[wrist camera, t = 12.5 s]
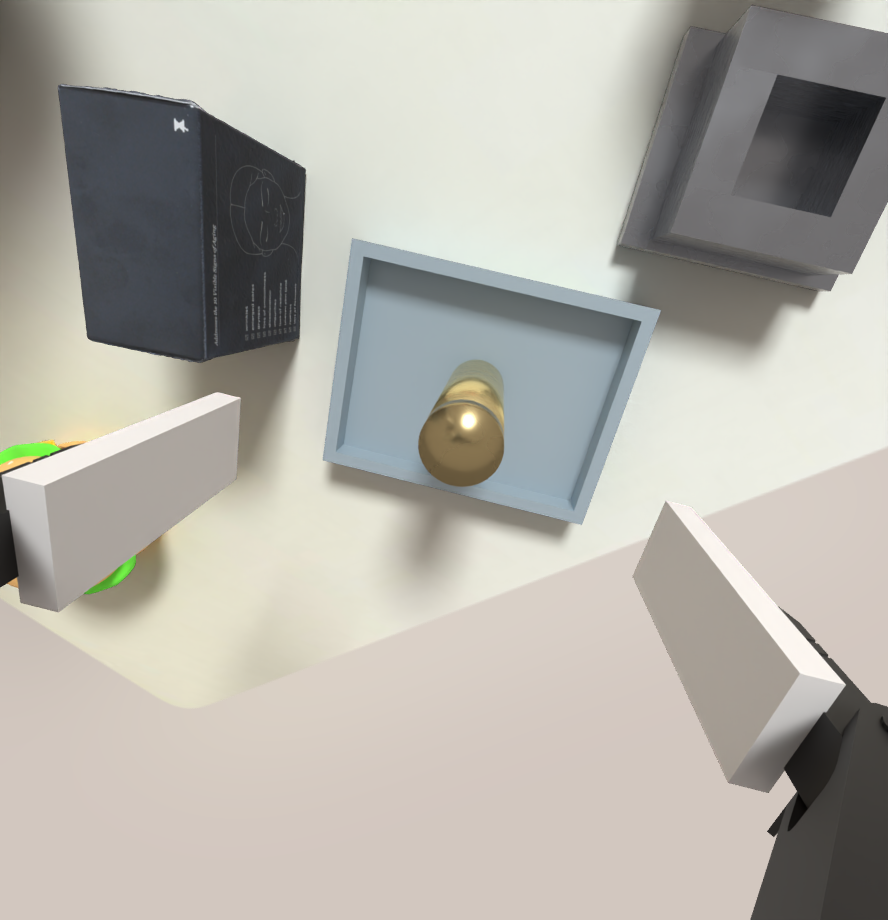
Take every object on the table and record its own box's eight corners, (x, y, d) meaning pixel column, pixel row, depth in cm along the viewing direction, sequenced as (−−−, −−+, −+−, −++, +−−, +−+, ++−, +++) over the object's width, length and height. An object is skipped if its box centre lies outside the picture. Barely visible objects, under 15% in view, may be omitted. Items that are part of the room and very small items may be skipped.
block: (616, 245, 28) (637, 236, 23) (683, 36, 24) (722, -18, 20) (819, 291, 27) (877, 291, 23) (917, 86, 24) (1007, 41, 20)
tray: (335, 448, 34) (322, 460, 32) (364, 242, 29) (352, 238, 27) (576, 508, 34) (581, 524, 31) (648, 308, 29) (660, 310, 26)
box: (204, 148, 29) (50, 75, 19) (308, 165, 28) (206, 99, 18) (208, 327, 32) (81, 342, 23) (300, 343, 32) (212, 367, 22)
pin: (443, 406, 31) (410, 475, 20) (455, 353, 30) (427, 395, 19) (495, 419, 31) (491, 495, 20) (510, 367, 30) (514, 417, 19)
